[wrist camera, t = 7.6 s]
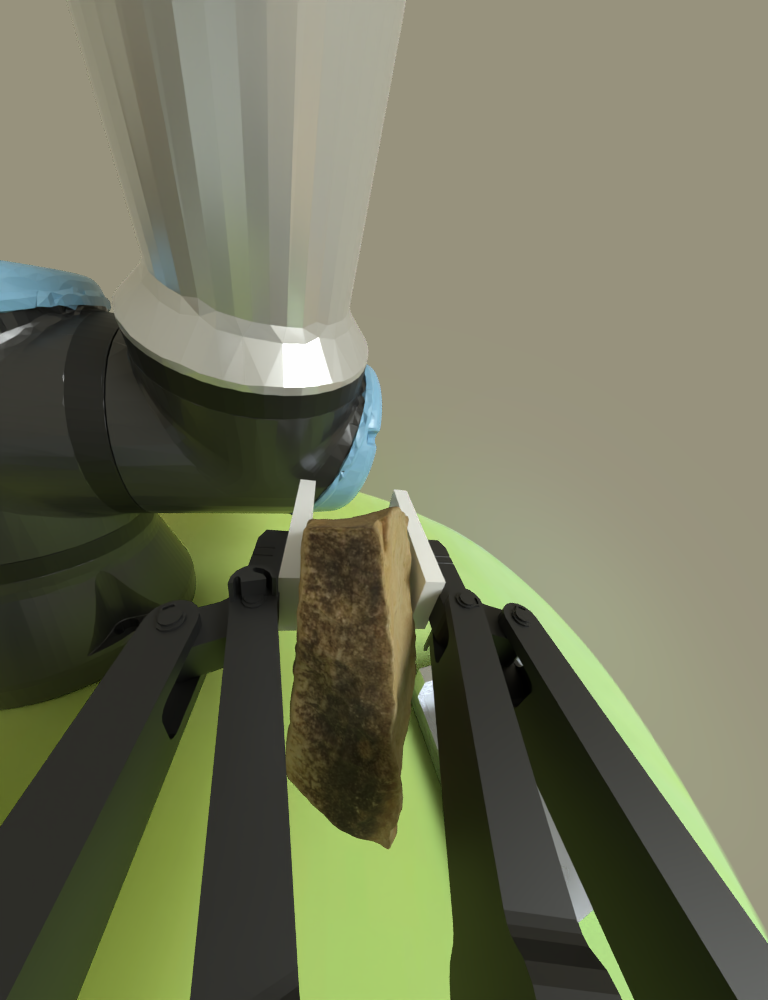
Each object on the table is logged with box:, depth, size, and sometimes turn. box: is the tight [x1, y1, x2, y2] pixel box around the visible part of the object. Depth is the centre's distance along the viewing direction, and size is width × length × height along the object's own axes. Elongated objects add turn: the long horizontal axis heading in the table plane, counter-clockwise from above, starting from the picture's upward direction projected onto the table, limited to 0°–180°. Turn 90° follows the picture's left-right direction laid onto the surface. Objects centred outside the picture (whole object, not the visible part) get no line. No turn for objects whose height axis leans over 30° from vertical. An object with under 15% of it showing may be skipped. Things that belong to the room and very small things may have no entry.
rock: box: [286, 506, 416, 849], centre depth 12 cm, size 11×9×10 cm
